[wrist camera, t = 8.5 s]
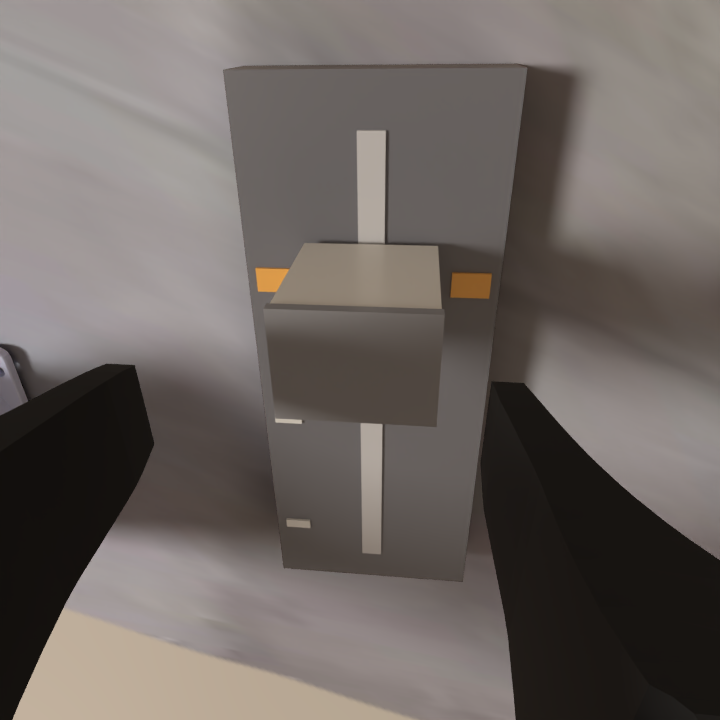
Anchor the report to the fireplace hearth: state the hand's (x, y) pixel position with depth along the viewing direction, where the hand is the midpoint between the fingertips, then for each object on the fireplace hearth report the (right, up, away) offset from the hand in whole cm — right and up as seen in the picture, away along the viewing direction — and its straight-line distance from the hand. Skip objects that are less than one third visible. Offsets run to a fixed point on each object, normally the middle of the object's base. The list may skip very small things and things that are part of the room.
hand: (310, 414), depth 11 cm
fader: (+1, +3, +6) cm, 7 cm away
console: (+2, +1, +10) cm, 10 cm away
